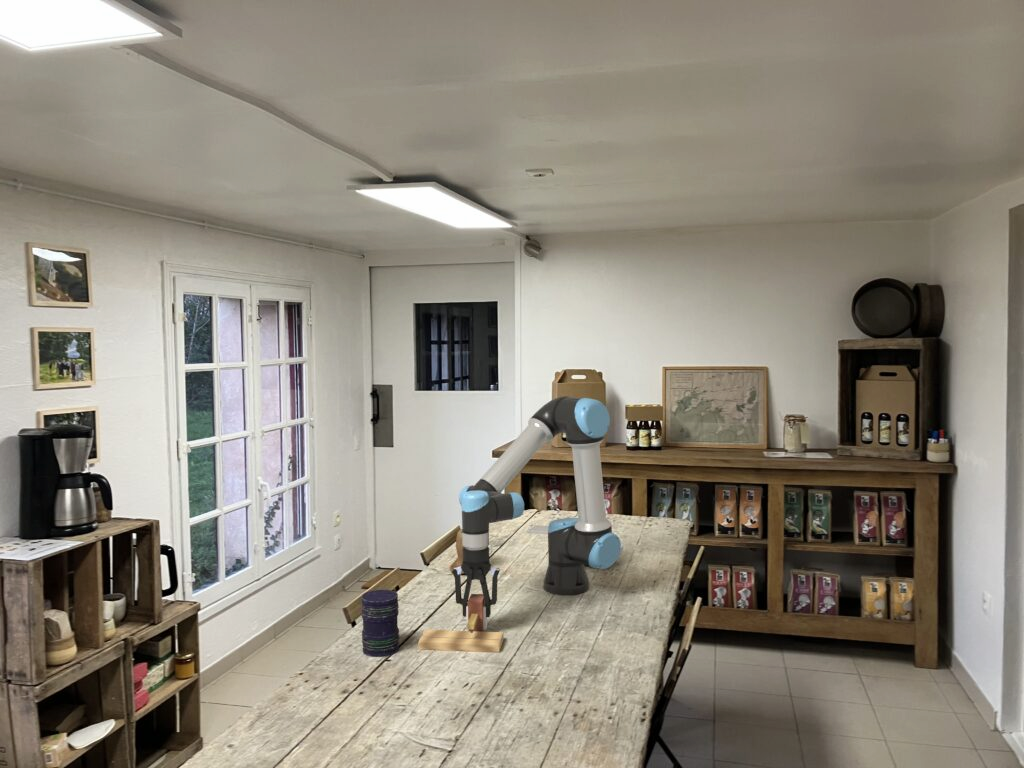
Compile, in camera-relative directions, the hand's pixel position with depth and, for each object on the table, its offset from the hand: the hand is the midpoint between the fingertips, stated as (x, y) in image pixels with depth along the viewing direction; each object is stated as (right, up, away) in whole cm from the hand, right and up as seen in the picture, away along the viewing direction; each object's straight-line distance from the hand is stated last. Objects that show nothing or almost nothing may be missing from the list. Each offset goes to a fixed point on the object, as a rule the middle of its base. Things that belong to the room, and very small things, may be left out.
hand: (476, 627), depth 225 cm
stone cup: (-6, +2, +60) cm, 60 cm away
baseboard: (+33, +5, +111) cm, 116 cm away
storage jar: (-25, -3, -11) cm, 28 cm away
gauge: (0, -1, -4) cm, 4 cm away
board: (-4, -2, -8) cm, 9 cm away
